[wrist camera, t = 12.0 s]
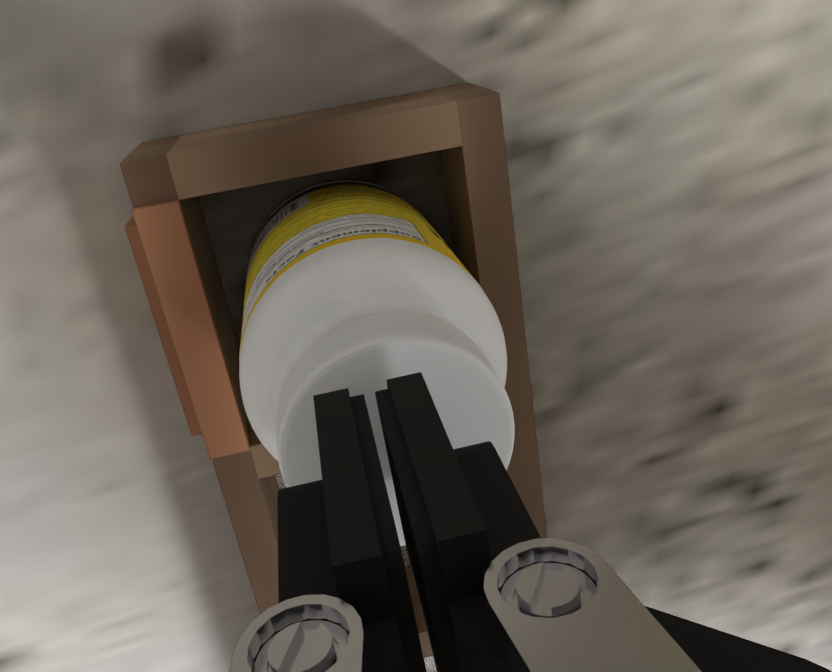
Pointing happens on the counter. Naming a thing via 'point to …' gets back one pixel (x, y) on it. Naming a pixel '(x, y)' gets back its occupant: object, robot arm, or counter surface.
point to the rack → (206, 300)
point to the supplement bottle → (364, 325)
